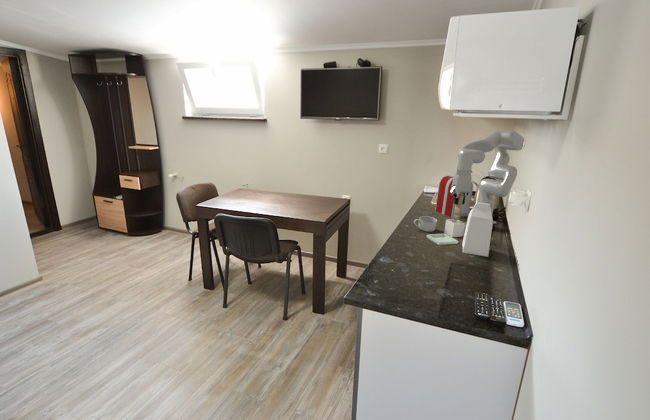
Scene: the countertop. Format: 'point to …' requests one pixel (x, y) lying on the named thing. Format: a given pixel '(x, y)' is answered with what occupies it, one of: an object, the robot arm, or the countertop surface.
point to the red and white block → (450, 198)
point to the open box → (454, 228)
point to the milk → (478, 230)
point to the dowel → (458, 207)
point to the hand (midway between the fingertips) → (458, 203)
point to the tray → (442, 239)
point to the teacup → (426, 223)
